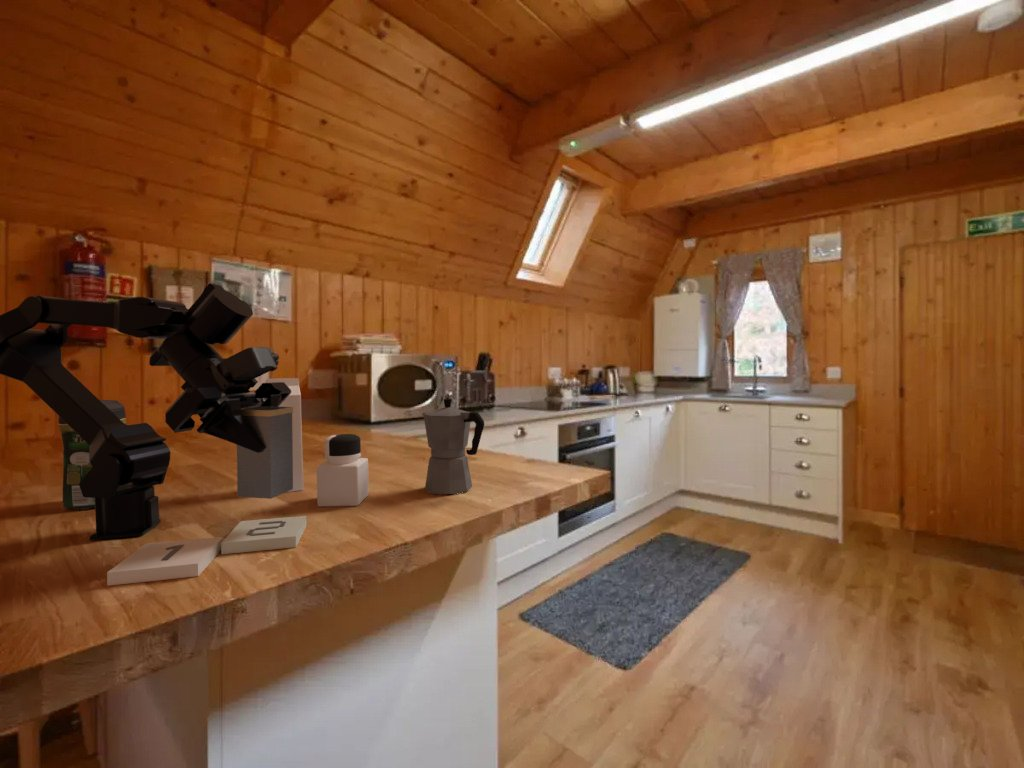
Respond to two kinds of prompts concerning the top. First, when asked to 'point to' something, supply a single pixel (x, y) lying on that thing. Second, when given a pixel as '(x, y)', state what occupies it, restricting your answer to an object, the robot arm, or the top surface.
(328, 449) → the medicine bottle
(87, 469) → the coffee jar
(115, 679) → the top surface
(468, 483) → the coffeepot
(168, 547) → the tile
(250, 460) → the tea tin
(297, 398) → the milk
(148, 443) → the robot arm
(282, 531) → the tile
